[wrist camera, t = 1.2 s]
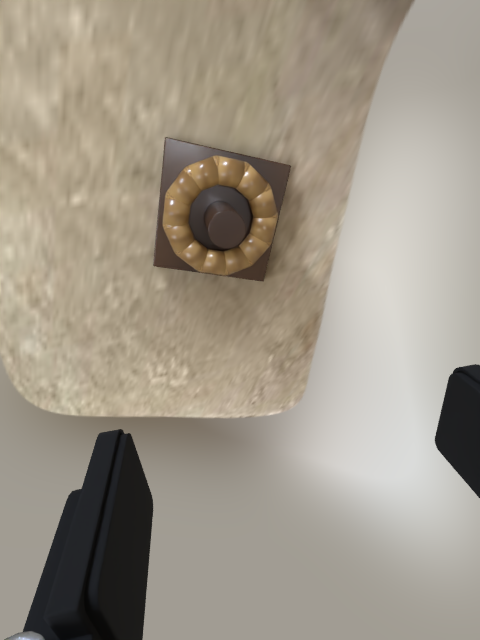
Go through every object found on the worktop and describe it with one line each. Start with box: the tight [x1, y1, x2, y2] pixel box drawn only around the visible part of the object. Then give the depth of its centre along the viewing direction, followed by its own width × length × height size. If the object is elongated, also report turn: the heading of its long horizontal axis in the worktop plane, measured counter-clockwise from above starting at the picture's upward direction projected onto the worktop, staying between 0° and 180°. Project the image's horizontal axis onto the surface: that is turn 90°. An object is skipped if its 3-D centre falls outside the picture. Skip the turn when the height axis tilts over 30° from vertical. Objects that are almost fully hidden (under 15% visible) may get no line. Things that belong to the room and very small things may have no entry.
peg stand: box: [153, 137, 291, 281], centre depth 24 cm, size 9×9×5 cm
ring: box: [163, 155, 278, 275], centre depth 24 cm, size 8×8×2 cm
